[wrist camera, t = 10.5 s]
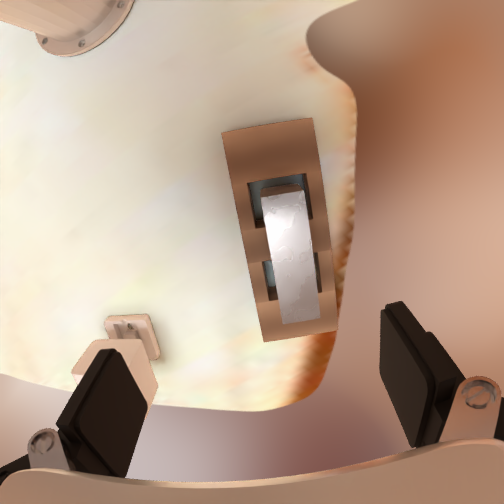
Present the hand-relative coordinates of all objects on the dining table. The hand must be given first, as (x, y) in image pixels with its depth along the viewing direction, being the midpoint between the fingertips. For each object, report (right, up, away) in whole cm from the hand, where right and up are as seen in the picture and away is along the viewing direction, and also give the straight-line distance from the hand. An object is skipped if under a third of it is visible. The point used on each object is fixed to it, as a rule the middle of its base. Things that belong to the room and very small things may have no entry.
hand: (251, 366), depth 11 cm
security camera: (-14, -7, +25) cm, 29 cm away
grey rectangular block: (+3, +6, +20) cm, 21 cm away
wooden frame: (+3, +6, +20) cm, 21 cm away
